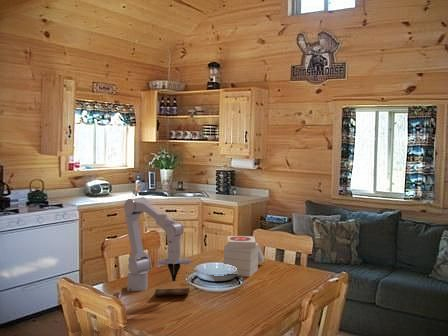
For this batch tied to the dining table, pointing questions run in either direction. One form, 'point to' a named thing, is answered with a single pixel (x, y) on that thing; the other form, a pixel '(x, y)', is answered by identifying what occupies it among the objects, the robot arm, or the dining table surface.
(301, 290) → the dining table surface
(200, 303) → the dining table surface
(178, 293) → the walnut plank
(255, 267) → the pizza boxes
